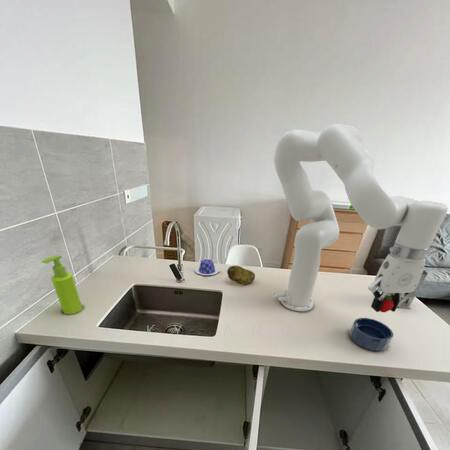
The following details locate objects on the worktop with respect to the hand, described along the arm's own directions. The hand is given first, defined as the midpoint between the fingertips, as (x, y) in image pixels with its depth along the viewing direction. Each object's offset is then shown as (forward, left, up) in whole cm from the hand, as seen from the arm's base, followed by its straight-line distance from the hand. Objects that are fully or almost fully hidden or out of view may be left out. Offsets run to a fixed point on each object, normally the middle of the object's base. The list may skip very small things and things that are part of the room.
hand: (382, 308), depth 73 cm
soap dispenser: (-100, +20, -13) cm, 103 cm away
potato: (-36, +41, -13) cm, 56 cm away
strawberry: (0, 0, -1) cm, 1 cm away
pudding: (-51, +53, -13) cm, 75 cm away
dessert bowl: (0, 0, -12) cm, 12 cm away
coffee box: (+28, +23, -13) cm, 38 cm away
